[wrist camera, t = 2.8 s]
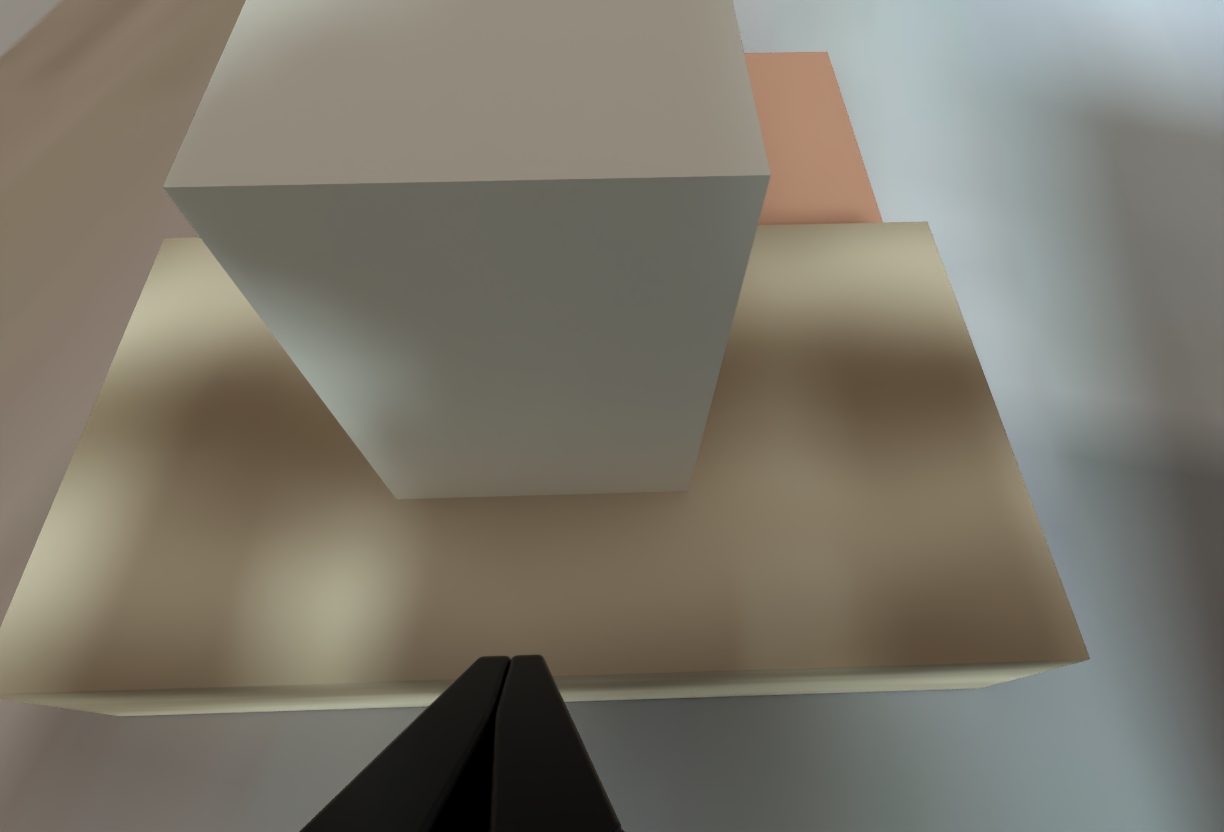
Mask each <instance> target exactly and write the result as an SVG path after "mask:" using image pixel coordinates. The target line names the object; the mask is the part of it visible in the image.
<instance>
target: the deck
mask: <svg viewBox="0 0 1224 832" xmlns="http://www.w3.org/2000/svg"><path fill="white" fill-rule="evenodd" d="M535 654H539V655H542V656H543V657H544V659H545V661H546V663H547V665H548V668H549V670H550V672H551V674H552V676H553V679H554V681H555V683H556V685H557V687H558V689H559V692H560V694H561V696H562V698H563V700H564V702H570V701H601V700H632V699H662V698H693V697H724V696H755V695H785V694H816V693H847V692H878V691H908V690H939V689H970V688H984V687H988V686H991V685H995V684H999V683H1003V682H1006V681H1010V680H1014V679H1018V678H1021V677H1025V676H1029V675H1033V674H1037V673H1040V672H1044V671H1048V670H1052V669H1055V668H1059V667H1063V666H1067V665H1070V664H1074V663H1078V662H1082V661H1085V660H1089V659H1090V657H1089V654H1088V652H1087V649H1086V646H1085V644H1084V641H1083V638H1082V636H1081V633H1080V630H1079V628H1078V625H1077V622H1076V620H1075V617H1074V614H1073V612H1072V609H1071V606H1070V603H1069V601H1068V598H1067V595H1066V593H1065V590H1064V587H1063V585H1062V582H1061V579H1060V577H1059V574H1058V571H1057V569H1056V566H1055V563H1054V561H1053V558H1052V555H1051V552H1050V550H1049V547H1048V544H1047V542H1046V539H1045V536H1044V534H1043V531H1042V528H1041V526H1040V523H1039V520H1038V518H1037V515H1036V512H1035V510H1034V507H1033V504H1032V502H1031V499H1030V496H1029V493H1028V491H1027V488H1026V485H1025V483H1024V480H1023V477H1022V475H1021V472H1020V469H1019V467H1018V464H1017V461H1016V459H1015V456H1014V453H1013V451H1012V448H1011V445H1010V442H1009V440H1008V437H1007V434H1006V432H1005V429H1004V426H1003V424H1002V421H1001V418H1000V416H999V413H998V410H997V408H996V405H995V402H994V400H993V397H992V394H991V391H990V389H989V386H988V383H987V381H986V378H985V375H984V373H983V370H982V367H981V365H980V362H979V359H978V357H977V354H976V351H975V349H974V346H973V343H972V340H971V338H970V335H969V332H968V330H967V327H966V324H965V322H964V319H963V316H962V314H961V311H960V308H959V306H958V303H957V300H956V298H955V295H954V292H953V290H952V287H951V284H950V281H949V279H948V276H947V273H946V271H945V268H944V265H943V263H942V260H941V257H940V255H939V252H938V249H937V247H936V244H935V241H934V239H933V236H932V233H931V230H930V228H929V225H928V222H892V223H845V224H799V225H758V226H757V230H756V234H755V238H754V241H753V245H752V249H751V253H750V257H749V261H748V265H747V268H746V272H745V276H744V280H743V284H742V288H741V291H740V295H739V299H738V303H737V307H736V311H735V314H734V318H733V322H732V326H731V330H730V334H729V337H728V341H727V345H726V349H725V353H724V357H723V361H722V364H721V368H720V372H719V376H718V380H717V384H716V387H715V391H714V395H713V399H712V403H711V407H710V410H709V414H708V418H707V422H706V426H705V430H704V434H703V437H702V441H701V445H700V449H699V453H698V457H697V460H696V464H695V468H694V472H693V476H692V480H691V483H690V487H689V491H679V492H643V493H607V494H570V495H534V496H498V497H462V498H426V499H396V498H395V497H394V495H393V494H392V493H391V491H390V490H389V489H388V487H387V486H386V485H385V483H384V482H383V481H382V479H381V478H380V477H379V475H378V474H377V473H376V471H375V470H374V469H373V467H372V466H371V465H370V463H369V462H368V461H367V459H366V458H365V457H364V455H363V454H362V453H361V451H360V450H359V449H358V447H357V446H356V445H355V443H354V442H353V441H352V439H351V438H350V437H349V435H348V434H347V433H346V431H345V430H344V429H343V427H342V426H341V425H340V423H339V422H338V421H337V419H336V418H335V417H334V415H333V414H332V413H331V411H330V410H329V409H328V407H327V406H326V405H325V403H324V402H323V401H322V399H321V398H320V397H319V395H318V394H317V393H316V391H315V390H314V389H313V387H312V386H311V385H310V383H309V382H308V381H307V379H306V378H305V377H304V375H303V374H302V373H301V371H300V370H299V369H298V367H297V366H296V365H295V363H294V362H293V361H292V359H291V358H290V357H289V355H288V354H287V353H286V351H285V350H284V349H283V347H282V346H281V345H280V343H279V342H278V341H277V339H276V338H275V337H274V335H273V334H272V333H271V331H270V330H269V329H268V327H267V326H266V325H265V323H264V322H263V321H262V319H261V318H260V317H259V315H258V314H257V313H256V311H255V310H254V309H253V307H252V306H251V305H250V303H249V302H248V301H247V299H246V298H245V297H244V295H243V294H242V293H241V291H240V290H239V289H238V287H237V286H236V285H235V283H234V282H233V281H232V279H231V278H230V277H229V275H228V274H227V273H226V271H225V270H224V269H223V267H222V266H221V265H220V263H219V262H218V261H217V259H216V258H215V257H214V255H213V254H212V253H211V251H210V250H209V249H208V247H207V246H206V245H205V243H204V242H203V241H202V239H201V238H200V237H193V238H164V241H163V243H162V245H161V248H160V250H159V252H158V255H157V257H156V260H155V262H154V264H153V267H152V269H151V271H150V274H149V276H148V279H147V281H146V283H145V286H144V288H143V290H142V293H141V295H140V298H139V300H138V302H137V305H136V307H135V309H134V312H133V314H132V317H131V319H130V321H129V324H128V326H127V328H126V331H125V333H124V336H123V338H122V340H121V343H120V345H119V347H118V350H117V352H116V355H115V357H114V359H113V362H112V364H111V366H110V369H109V371H108V374H107V376H106V378H105V381H104V383H103V385H102V388H101V390H100V393H99V395H98V397H97V400H96V402H95V404H94V407H93V409H92V412H91V414H90V416H89V419H88V421H87V423H86V426H85V428H84V431H83V433H82V435H81V438H80V440H79V442H78V445H77V447H76V450H75V452H74V454H73V457H72V459H71V461H70V464H69V466H68V469H67V471H66V473H65V476H64V478H63V480H62V483H61V485H60V488H59V490H58V492H57V495H56V497H55V499H54V502H53V504H52V507H51V509H50V511H49V514H48V516H47V518H46V521H45V523H44V526H43V528H42V530H41V533H40V535H39V537H38V540H37V542H36V545H35V547H34V549H33V552H32V554H31V556H30V559H29V561H28V564H27V566H26V568H25V571H24V573H23V575H22V578H21V580H20V583H19V585H18V587H17V590H16V592H15V594H14V597H13V599H12V602H11V604H10V606H9V609H8V611H7V613H6V616H5V618H4V621H3V623H2V625H1V628H0V699H4V700H11V701H18V702H25V703H32V704H39V705H46V706H53V707H60V708H67V709H74V710H81V711H88V712H95V713H102V714H109V715H116V716H140V715H171V714H201V713H232V712H263V711H293V710H324V709H355V708H386V707H416V706H429V705H430V704H431V703H432V702H434V701H435V700H436V699H437V698H438V697H439V696H440V695H441V694H442V693H443V692H444V691H445V690H446V689H447V688H448V687H449V686H450V685H451V684H452V683H453V682H454V681H455V680H456V679H457V678H458V677H459V676H460V675H461V674H462V673H463V672H464V671H465V670H466V669H468V668H469V667H470V666H471V665H472V664H473V663H474V662H475V661H476V660H477V659H478V658H480V657H482V656H509V657H510V659H512V657H514V656H516V655H535Z"/></svg>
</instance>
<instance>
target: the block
mask: <svg viewBox="0 0 1224 832" xmlns="http://www.w3.org/2000/svg"><path fill="white" fill-rule="evenodd" d="M770 176H771V174H770V169H769V165H768V160H767V156H766V151H765V147H764V142H763V137H762V133H761V128H760V124H759V119H758V115H757V110H756V105H755V101H754V96H753V92H752V87H751V83H750V78H749V73H748V69H747V64H746V60H745V55H744V51H743V46H742V42H741V37H740V32H739V28H738V23H737V19H736V14H735V10H734V5H733V0H246V2H245V4H244V6H243V9H242V11H241V13H240V15H239V18H238V20H237V22H236V24H235V26H234V29H233V31H232V33H231V35H230V38H229V40H228V42H227V44H226V47H225V49H224V51H223V53H222V56H221V58H220V60H219V62H218V65H217V67H216V69H215V71H214V74H213V76H212V78H211V80H210V83H209V85H208V87H207V89H206V91H205V94H204V96H203V98H202V100H201V103H200V105H199V107H198V109H197V112H196V114H195V116H194V118H193V121H192V123H191V125H190V127H189V130H188V132H187V134H186V136H185V139H184V141H183V143H182V145H181V147H180V150H179V152H178V154H177V156H176V159H175V161H174V163H173V165H172V168H171V170H170V172H169V174H168V177H167V179H166V181H165V183H164V186H163V189H164V190H165V191H166V193H167V194H168V195H169V197H170V198H171V199H172V201H173V202H174V203H175V205H176V206H177V207H178V209H179V210H180V211H181V213H182V214H183V215H184V217H185V218H186V219H187V221H188V222H189V223H190V225H191V226H192V227H193V229H194V230H195V231H196V233H197V234H198V235H199V237H200V238H201V239H202V241H203V242H204V243H205V245H206V246H207V247H208V249H209V250H210V251H211V253H212V254H213V255H214V257H215V258H216V259H217V261H218V262H219V263H220V265H221V266H222V267H223V269H224V270H225V271H226V273H227V274H228V275H229V277H230V278H231V279H232V281H233V282H234V283H235V285H236V286H237V287H238V289H239V290H240V291H241V293H242V294H243V295H244V297H245V298H246V299H247V301H248V302H249V303H250V305H251V306H252V307H253V309H254V310H255V311H256V313H257V314H258V315H259V317H260V318H261V319H262V321H263V322H264V323H265V325H266V326H267V327H268V329H269V330H270V331H271V333H272V334H273V335H274V337H275V338H276V339H277V341H278V342H279V343H280V345H281V346H282V347H283V349H284V350H285V351H286V353H287V354H288V355H289V357H290V358H291V359H292V361H293V362H294V363H295V365H296V366H297V367H298V369H299V370H300V371H301V373H302V374H303V375H304V377H305V378H306V379H307V381H308V382H309V383H310V385H311V386H312V387H313V389H314V390H315V391H316V393H317V394H318V395H319V397H320V398H321V399H322V401H323V402H324V403H325V405H326V406H327V407H328V409H329V410H330V411H331V413H332V414H333V415H334V417H335V418H336V419H337V421H338V422H339V423H340V425H341V426H342V427H343V429H344V430H345V431H346V433H347V434H348V435H349V437H350V438H351V439H352V441H353V442H354V443H355V445H356V446H357V447H358V449H359V450H360V451H361V453H362V454H363V455H364V457H365V458H366V459H367V461H368V462H369V463H370V465H371V466H372V467H373V469H374V470H375V471H376V473H377V474H378V475H379V477H380V478H381V479H382V481H383V482H384V483H385V485H386V486H387V487H388V489H389V490H390V491H391V493H392V494H393V495H394V497H395V498H396V499H426V498H462V497H498V496H534V495H570V494H607V493H643V492H679V491H689V487H690V483H691V480H692V476H693V472H694V468H695V464H696V460H697V457H698V453H699V449H700V445H701V441H702V437H703V434H704V430H705V426H706V422H707V418H708V414H709V410H710V407H711V403H712V399H713V395H714V391H715V387H716V384H717V380H718V376H719V372H720V368H721V364H722V361H723V357H724V353H725V349H726V345H727V341H728V337H729V334H730V330H731V326H732V322H733V318H734V314H735V311H736V307H737V303H738V299H739V295H740V291H741V288H742V284H743V280H744V276H745V272H746V268H747V265H748V261H749V257H750V253H751V249H752V245H753V241H754V238H755V234H756V230H757V226H758V222H759V218H760V215H761V211H762V207H763V203H764V199H765V195H766V192H767V188H768V184H769V180H770Z"/></svg>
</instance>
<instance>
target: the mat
mask: <svg viewBox="0 0 1224 832" xmlns="http://www.w3.org/2000/svg"><path fill="white" fill-rule="evenodd" d="M744 55H745V60H746V64H747V69H748V73H749V78H750V83H751V87H752V92H753V96H754V101H755V105H756V110H757V115H758V119H759V124H760V128H761V133H762V137H763V142H764V147H765V151H766V156H767V160H768V165H769V169H770V174H771V176H770V180H769V184H768V188H767V192H766V195H765V199H764V203H763V207H762V211H761V215H760V218H759V222H758V225H799V224H845V223H883V221H882V218H881V215H880V212H879V209H878V206H877V203H876V200H875V197H874V194H873V191H872V188H871V185H870V181H869V178H868V175H867V172H866V169H865V166H864V163H863V160H862V157H861V154H860V151H859V148H858V145H857V142H856V139H855V135H854V132H853V129H852V126H851V123H850V120H849V117H848V114H847V111H846V108H845V105H844V102H843V99H842V96H841V92H840V89H839V86H838V83H837V80H836V77H835V74H834V71H833V68H832V65H831V62H830V59H829V56H828V53H827V52H793V53H744Z"/></svg>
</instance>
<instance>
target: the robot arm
mask: <svg viewBox="0 0 1224 832" xmlns="http://www.w3.org/2000/svg"><path fill="white" fill-rule="evenodd" d="M300 832H624V831H623V830H622V829H621V824H620V822H619V820H618V818H617V816H616V813H615V811H614V809H613V807H612V805H611V802H610V800H609V798H608V796H607V794H606V792H605V789H604V787H603V785H602V783H601V781H600V779H599V776H598V774H597V772H596V770H595V768H594V765H593V763H592V761H591V759H590V757H589V755H588V752H587V750H586V748H585V746H584V744H583V742H582V739H581V737H580V735H579V733H578V731H577V729H576V726H575V724H574V722H573V720H572V718H571V715H570V713H569V711H568V709H567V707H566V705H565V702H564V700H563V698H562V696H561V694H560V692H559V689H558V687H557V685H556V683H555V681H554V679H553V676H552V674H551V672H550V670H549V668H548V665H547V663H546V661H545V659H544V657H543V656H542V655H539V654H535V655H516V656H514V657H512V659H510V657H509V656H482V657H480V658H478V659H477V660H476V661H475V662H474V663H473V664H472V665H471V666H470V667H469V668H468V669H466V670H465V671H464V672H463V673H462V674H461V675H460V676H459V677H458V678H457V679H456V680H455V681H454V682H453V683H452V684H451V685H450V686H449V687H448V688H447V689H446V690H445V691H444V692H443V693H442V694H441V695H440V696H439V697H438V698H437V699H436V700H435V701H434V702H432V703H431V704H430V705H429V706H428V707H427V708H426V709H425V710H424V711H423V712H422V713H421V714H420V715H419V716H418V717H417V718H416V719H415V720H414V721H413V722H412V723H411V724H410V725H409V726H408V727H407V728H406V729H405V730H404V731H403V732H402V733H401V734H399V735H398V736H397V737H396V738H395V739H394V740H393V741H392V742H391V743H390V744H389V745H388V746H387V747H386V748H385V749H384V750H383V751H382V752H381V753H380V754H379V755H378V756H377V757H376V758H375V759H374V760H373V761H372V762H371V763H370V764H369V765H368V766H367V767H365V768H364V769H363V770H362V771H361V772H360V773H359V774H358V775H357V776H356V777H355V778H354V779H353V780H352V781H351V782H350V783H349V784H348V785H347V786H346V787H345V788H344V789H343V790H342V791H341V792H340V793H339V794H338V795H337V796H336V797H335V798H334V799H332V800H331V801H330V802H329V803H328V804H327V805H326V806H325V807H324V808H323V809H322V810H321V811H320V812H319V813H318V814H317V815H316V816H315V817H314V818H313V819H312V820H311V821H310V822H309V823H308V824H307V825H306V826H305V827H304V828H303V829H302V830H301V831H300Z"/></svg>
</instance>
